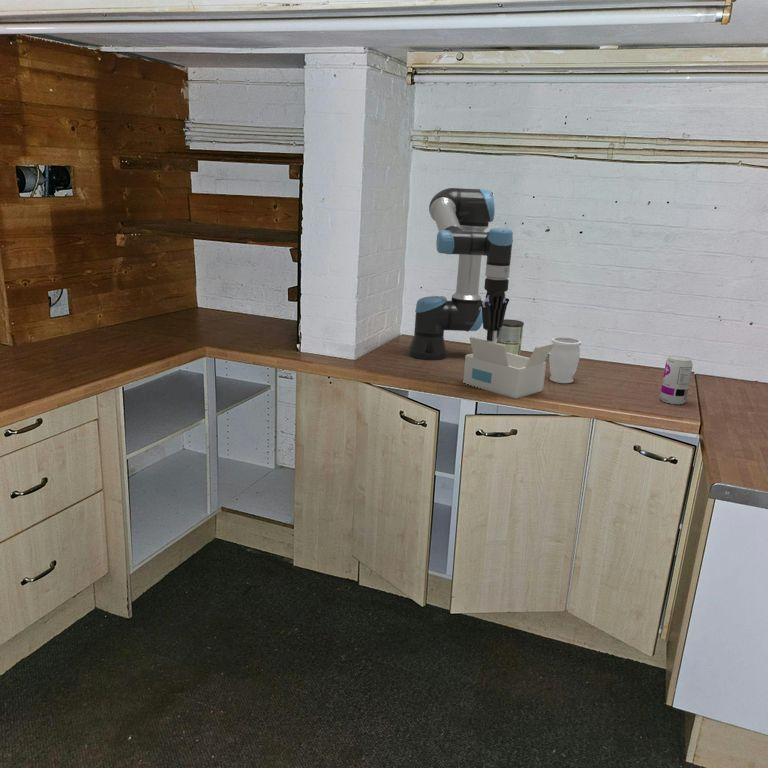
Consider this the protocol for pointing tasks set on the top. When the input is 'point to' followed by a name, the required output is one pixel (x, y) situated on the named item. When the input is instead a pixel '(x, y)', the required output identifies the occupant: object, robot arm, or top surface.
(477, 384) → the carton
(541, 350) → the end flap
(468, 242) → the robot arm
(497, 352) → the front flap
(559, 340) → the jar
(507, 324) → the coffee can
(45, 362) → the top surface
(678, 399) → the supplement can
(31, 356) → the top surface
